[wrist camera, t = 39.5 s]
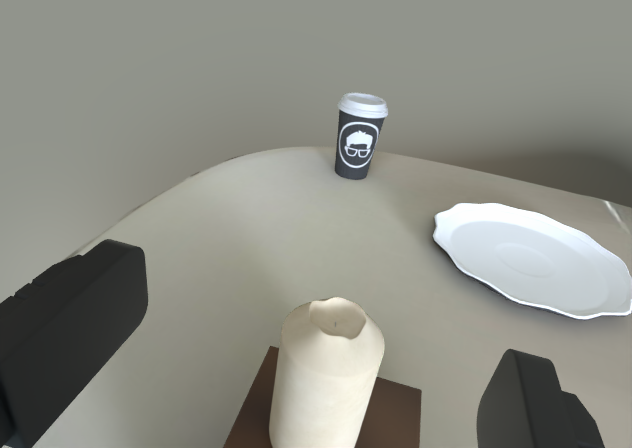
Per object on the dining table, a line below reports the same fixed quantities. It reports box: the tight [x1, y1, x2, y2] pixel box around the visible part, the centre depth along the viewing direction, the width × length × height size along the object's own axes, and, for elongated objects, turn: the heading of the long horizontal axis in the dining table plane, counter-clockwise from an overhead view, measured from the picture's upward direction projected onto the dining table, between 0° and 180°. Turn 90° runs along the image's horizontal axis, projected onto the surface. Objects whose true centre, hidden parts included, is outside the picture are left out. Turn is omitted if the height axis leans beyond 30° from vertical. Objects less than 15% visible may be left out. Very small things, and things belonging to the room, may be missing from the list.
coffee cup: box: [335, 93, 388, 180], centre depth 84 cm, size 10×10×15 cm
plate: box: [433, 203, 632, 320], centre depth 67 cm, size 29×29×2 cm
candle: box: [269, 297, 385, 448], centre depth 25 cm, size 6×6×10 cm
